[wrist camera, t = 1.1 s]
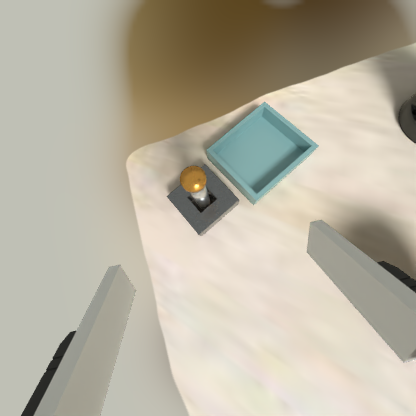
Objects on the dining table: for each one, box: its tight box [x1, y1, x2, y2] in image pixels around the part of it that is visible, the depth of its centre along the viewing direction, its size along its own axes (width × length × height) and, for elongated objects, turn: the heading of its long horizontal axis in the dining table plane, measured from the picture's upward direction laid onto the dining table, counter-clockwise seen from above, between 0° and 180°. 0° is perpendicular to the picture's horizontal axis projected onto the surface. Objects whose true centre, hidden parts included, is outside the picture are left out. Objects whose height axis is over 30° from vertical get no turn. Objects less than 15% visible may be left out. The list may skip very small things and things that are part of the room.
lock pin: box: [180, 166, 211, 209], centre depth 33 cm, size 4×4×15 cm
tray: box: [206, 102, 318, 205], centre depth 40 cm, size 18×16×4 cm
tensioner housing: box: [167, 165, 239, 236], centre depth 39 cm, size 11×11×4 cm
